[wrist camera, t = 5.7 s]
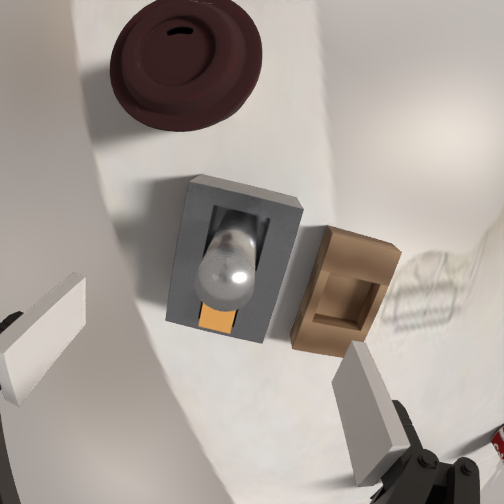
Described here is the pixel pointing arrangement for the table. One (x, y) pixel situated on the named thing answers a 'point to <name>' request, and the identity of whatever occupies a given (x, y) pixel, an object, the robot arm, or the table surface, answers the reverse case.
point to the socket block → (267, 250)
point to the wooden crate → (343, 292)
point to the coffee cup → (186, 63)
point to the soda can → (499, 442)
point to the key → (216, 319)
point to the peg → (229, 264)
